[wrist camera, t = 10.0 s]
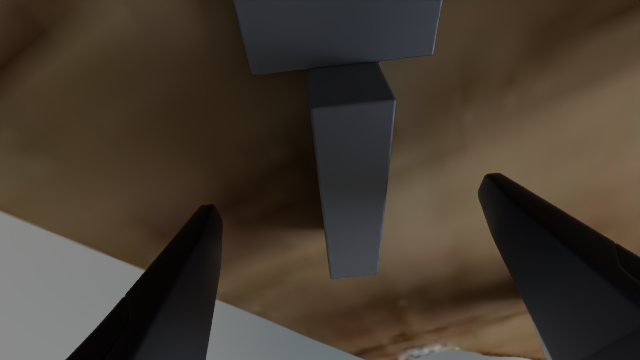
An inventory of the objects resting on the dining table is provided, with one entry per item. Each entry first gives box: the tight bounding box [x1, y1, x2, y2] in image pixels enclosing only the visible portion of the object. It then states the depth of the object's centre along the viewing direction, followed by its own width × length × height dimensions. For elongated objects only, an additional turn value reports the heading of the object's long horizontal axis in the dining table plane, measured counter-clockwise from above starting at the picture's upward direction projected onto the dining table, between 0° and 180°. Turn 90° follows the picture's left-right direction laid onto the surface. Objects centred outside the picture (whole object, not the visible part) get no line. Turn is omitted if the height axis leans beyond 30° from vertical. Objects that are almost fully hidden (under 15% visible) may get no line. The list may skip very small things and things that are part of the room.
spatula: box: [233, 0, 443, 279], centre depth 10 cm, size 15×6×3 cm, turn 5°
